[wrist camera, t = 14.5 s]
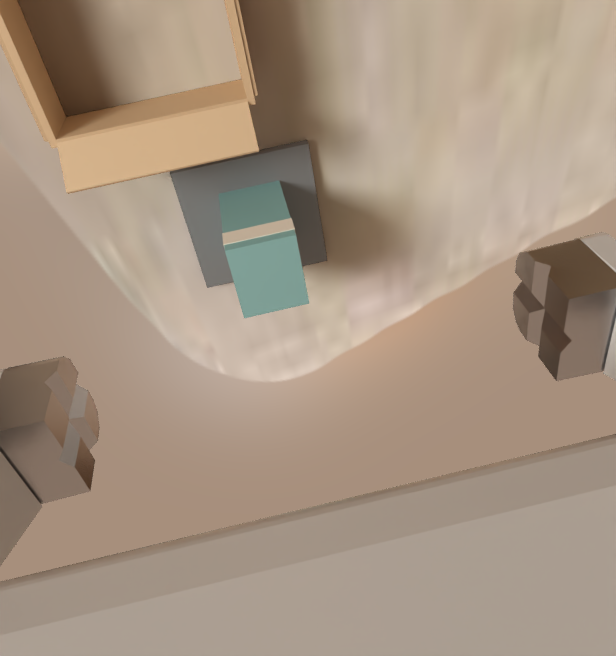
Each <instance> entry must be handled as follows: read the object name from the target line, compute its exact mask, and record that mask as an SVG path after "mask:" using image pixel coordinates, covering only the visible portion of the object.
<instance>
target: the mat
mask: <svg viewBox="0 0 616 656" xmlns="http://www.w3.org/2000/svg"><path fill="white" fill-rule="evenodd" d="M170 175H171V178H172V181H173V184H174V187H175V190H176V193H177V196H178V199H179V202H180V205H181V208H182V211H183V215H184V218H185V221H186V224H187V227H188V230H189V233H190V236H191V239H192V242H193V245H194V248H195V251H196V254H197V257H198V260H199V264H200V267H201V270H202V273H203V276H204V279H205V282H206V285H207V288H209V287H213V286H217V285H222V284H226V283H231V282H234V281H233V277H232V274H231V270H230V267H229V264H228V260H227V257H226V253H225V249H224V245H223V237H222V233H223V230H222V221H221V212H220V203H219V194H220V193H225V192H229V191H234V190H238V189H243V188H247V187H252V186H256V185H261V184H265V183H270V182H274V181H280V185H281V188H282V191H283V195H284V198H285V201H286V204H287V208H288V211H289V214H290V217H291V218H292V221H293V224H294V228H295V232H296V237H297V243H298V248H299V253H300V258H301V263H302V266H305V265H310V264H314V263H319V262H323V261H327V256H326V250H325V244H324V237H323V231H322V225H321V219H320V213H319V206H318V200H317V194H316V188H315V181H314V175H313V169H312V163H311V157H310V150H309V144H308V142H307V140H303V141H299V142H294V143H290V144H285V145H281V146H276V147H272V148H267V149H262V150H259V152H255V153H251V154H246V155H242V156H237V157H233V158H228V159H223V160H219V161H214V162H210V163H205V164H201V165H196V166H192V167H187V168H183V169H178V170H174V171H170Z"/></svg>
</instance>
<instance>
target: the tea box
mask: <svg viewBox="0 0 616 656" xmlns="http://www.w3.org/2000/svg"><path fill="white" fill-rule="evenodd" d="M219 203H220V212H221V221H222V230H223V233H222V237H223V245H224V249H225V253H226V257H227V260H228V264H229V267H230V270H231V274H232V277H233V281H234V284H235V288H236V291H237V295H238V298H239V302H240V305H241V309H242V312H243V315H244V318H248V317H252V316H256V315H261V314H265V313H270V312H274V311H278V310H283V309H287V308H291V307H296V306H300V305H304V304H309V300H308V294H307V289H306V284H305V279H304V273H303V268H302V263H301V258H300V253H299V248H298V243H297V237H296V232H295V228H294V224H293V221H292V218H291V217H290V214H289V211H288V208H287V204H286V201H285V198H284V195H283V191H282V188H281V185H280V181H274V182H270V183H265V184H261V185H256V186H252V187H247V188H243V189H238V190H234V191H229V192H225V193H220V194H219Z"/></svg>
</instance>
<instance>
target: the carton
mask: <svg viewBox="0 0 616 656" xmlns="http://www.w3.org/2000/svg"><path fill="white" fill-rule="evenodd" d="M224 1H225V6H226V10H227V15H228V19H229V24H230V28H231V33H232V37H233V42H234V47H235V51H236V56H237V60H238V65H239V69H240V74H241V78H242V79H240V80H236V81H231V82H226V83H222V84H217V85H213V86H208V87H203V88H199V89H194V90H189V91H185V92H180V93H175V94H171V95H166V96H162V97H157V98H152V99H148V100H143V101H138V102H134V103H129V104H125V105H120V106H115V107H111V108H106V109H101V110H97V111H92V112H88V113H83V114H78V115H74V116H69V117H66V116H65V113H64V111H63V108H62V106H61V104H60V101H59V99H58V96H57V94H56V92H55V89H54V87H53V85H52V82H51V80H50V77H49V75H48V73H47V70H46V68H45V65H44V63H43V61H42V58H41V56H40V54H39V51H38V49H37V46H36V44H35V42H34V39H33V37H32V34H31V32H30V30H29V27H28V25H27V22H26V20H25V18H24V15H23V13H22V11H21V8H20V6H19V3H18V1H17V0H0V44H1V46H2V49H3V51H4V53H5V55H6V57H7V60H8V62H9V64H10V66H11V68H12V71H13V73H14V75H15V77H16V79H17V82H18V84H19V86H20V88H21V90H22V93H23V95H24V97H25V99H26V101H27V104H28V106H29V108H30V110H31V112H32V115H33V117H34V119H35V121H36V123H37V126H38V128H39V130H40V132H41V134H42V137H43V139H44V141H49V143H50V146H51V148H56V147H58V151H59V156H60V161H61V167H62V172H63V177H64V182H65V187H66V192H67V193H68V194H69V193H74V192H78V191H83V190H87V189H92V188H96V187H101V186H105V185H110V184H114V183H119V182H124V181H128V180H133V179H137V178H142V177H146V176H151V175H155V174H160V173H164V172H169V171H174V170H178V169H183V168H187V167H192V166H196V165H201V164H205V163H210V162H214V161H219V160H223V159H228V158H233V157H237V156H242V155H246V154H251V153H255V152H259V148H258V144H257V139H256V135H255V131H254V126H253V122H252V118H251V114H250V109H249V105H254V104H256V103H255V98H254V96H257V95H258V93H257V88H256V83H255V78H254V74H253V69H252V64H251V59H250V54H249V49H248V44H247V40H246V35H245V30H244V25H243V20H242V15H241V11H240V6H239V1H238V0H224Z"/></svg>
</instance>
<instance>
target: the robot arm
mask: <svg viewBox="0 0 616 656" xmlns="http://www.w3.org/2000/svg"><path fill="white" fill-rule="evenodd" d="M515 273H516V274H517V275H518V276H519V278H520V279H521V280H522V282H521V283H520V285H519V286H518V287H517V289H516V290H515V291H514V293H513V294H514V295H513V310H514V315H515V320H516V323H517V325H518V327H519V329H520V332H521V333H522V334H523V336H524V337H525V339H526V340H527V341H529V342H532V343H534V344H536V345H538V346H539V354H538V356H539V358H540V360H541V361H542V362H543V363H544V365H545V366H546V368H547V369H548V370H549V372H550V373H551V374H552V376H553V377H554V379H555V380H556V381H559V380H563V379H569V378H573V377H578V376H583V375H588V374H593V373H597V372H602V371H604V372H603V374H605V375H607V376H609V377H611V378H613V379H614V380H616V240H615V239H614V238H613V237H612V236H610V235H609V234H607V233H603V232H599V233H595V234H592V235H587V236H584V237H580V238H576V239H574V240H572V241H568V242H563V243H559V244H554V245H550V246H546V247H542V248H537V249H534V250H529V251H525V252H520V253H519V255H518V258H517V260H516V270H515ZM77 377H78V371H77V370H76V368H75V366H74V365H73V363H72V362H71V360H70V359H69V358H66V357H64V356H63V357H58V358H53V359H48V360H43V361H38V362H34V363H29V364H24V365H19V366H15V367H9V368H7V369H1V370H0V566H1V565H2V563H3V562H4V560H5V559H6V557H7V556H8V555H9V553H10V552H11V550H12V549H13V547H14V546H15V545H16V543H17V542H18V540H19V539H20V537H21V536H22V535H23V533H24V532H25V530H26V529H27V527H28V526H29V525H30V523H31V522H32V520H33V519H34V518H35V516H36V515H37V513H38V512H39V510H40V509H41V508H42V505H41V504H43V503H47V502H51V501H54V500H58V499H62V498H66V497H70V496H74V495H77V494H81V493H85V492H89V491H90V490H91V484H92V477H93V471H94V464H95V459H94V458H93V456H92V454H91V453H90V451H89V450H90V449H91V448H92V447H93V446H94V445H95V443H96V442H97V441H98V436H99V421H98V412H97V409H96V406H95V403H94V400H93V398H92V396H91V395H90V393H89V391H88V390H86V389H84V388H82V387H80V386H79V385H77V384H76V382H77ZM0 656H616V434H613V435H609V436H605V437H601V438H597V439H593V440H588V441H584V442H581V443H576V444H572V445H568V446H563V447H559V448H555V449H551V450H547V451H542V452H538V453H534V454H530V455H526V456H522V457H517V458H513V459H509V460H505V461H501V462H497V463H492V464H489V465H484V466H480V467H475V468H471V469H467V470H463V471H459V472H454V473H450V474H446V475H442V476H438V477H433V478H429V479H425V480H421V481H417V482H413V483H408V484H405V485H400V486H396V487H392V488H388V489H384V490H380V491H375V492H372V493H367V494H363V495H359V496H355V497H350V498H346V499H342V500H338V501H334V502H329V503H325V504H321V505H317V506H313V507H309V508H305V509H300V510H296V511H292V512H288V513H284V514H280V515H276V516H271V517H267V518H263V519H259V520H255V521H251V522H246V523H242V524H239V525H235V526H230V527H226V528H222V529H217V530H213V531H209V532H205V533H201V534H197V535H192V536H188V537H184V538H180V539H176V540H172V541H167V542H163V543H159V544H155V545H151V546H147V547H142V548H138V549H134V550H130V551H126V552H122V553H117V554H113V555H109V556H105V557H101V558H97V559H93V560H88V561H84V562H80V563H76V564H72V565H67V566H63V567H59V568H55V569H51V570H47V571H42V572H39V573H34V574H30V575H26V576H22V577H18V578H14V579H9V580H6V581H1V582H0Z"/></svg>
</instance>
